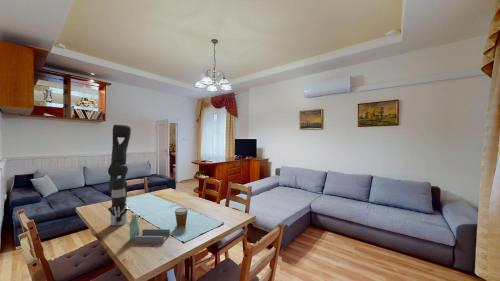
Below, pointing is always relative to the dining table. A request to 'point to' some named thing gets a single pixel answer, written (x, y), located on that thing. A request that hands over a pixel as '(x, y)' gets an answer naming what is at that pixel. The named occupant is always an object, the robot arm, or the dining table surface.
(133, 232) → the bottle
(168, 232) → the u rest
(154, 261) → the dining table surface
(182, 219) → the disposable coffee cup
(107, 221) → the dining table surface
